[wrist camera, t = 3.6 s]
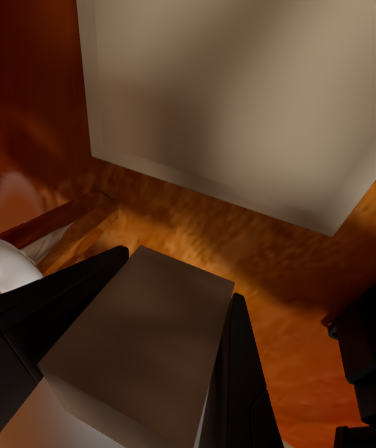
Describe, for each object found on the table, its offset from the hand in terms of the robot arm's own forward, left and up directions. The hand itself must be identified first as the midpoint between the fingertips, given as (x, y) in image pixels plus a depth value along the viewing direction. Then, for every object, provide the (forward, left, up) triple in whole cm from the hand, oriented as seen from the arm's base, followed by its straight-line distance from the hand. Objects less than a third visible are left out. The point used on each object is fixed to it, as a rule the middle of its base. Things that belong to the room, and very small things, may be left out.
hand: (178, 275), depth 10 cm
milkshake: (+10, +4, -7) cm, 13 cm away
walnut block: (0, +3, -1) cm, 3 cm away
